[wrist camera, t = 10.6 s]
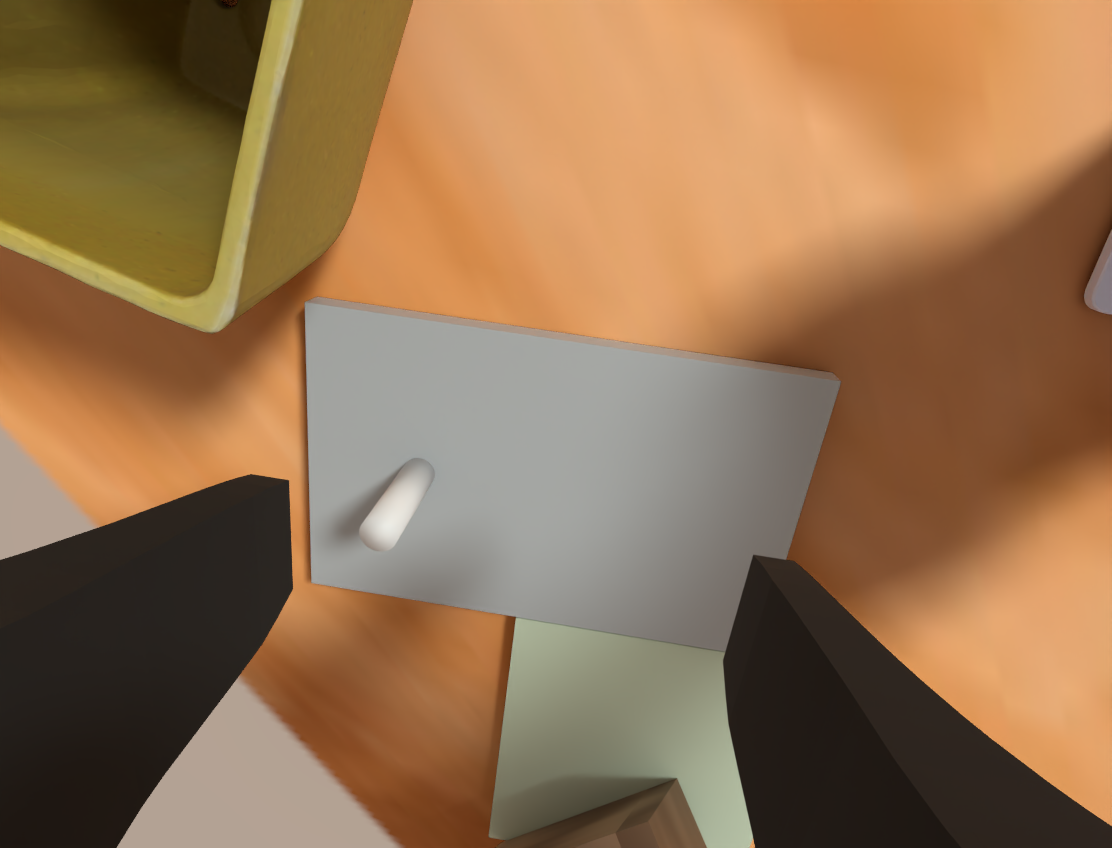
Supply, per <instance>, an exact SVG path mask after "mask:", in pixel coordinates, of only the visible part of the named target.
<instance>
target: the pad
mask: <svg viewBox="0 0 1112 848" xmlns="http://www.w3.org/2000/svg"><path fill="white" fill-rule="evenodd" d="M724 655H725V652H724V651H718V650H712V649H706V648H700V647H694V646H688V645H682V644H676V643H670V642H664V641H658V640H652V639H646V638H640V637H634V636H628V635H622V634H616V633H610V632H604V631H598V630H592V629H586V628H580V627H574V626H568V625H562V624H556V623H550V622H544V621H538V620H532V619H526V618H520V617H516V621H515V629H514V637H513V645H512V653H511V661H510V669H509V677H508V685H507V693H506V701H505V709H504V717H503V725H502V733H501V741H500V749H499V757H498V765H497V773H496V781H495V789H494V797H493V805H492V813H491V821H490V829H489V837H490V838H495V839H501V840H506V841H507V840H510V839H512V838H515V837H518V836H521V835H523V834H526V833H529V832H531V831H534V830H537V829H540V828H542V827H545V826H548V825H551V824H553V823H556V822H559V821H562V820H564V819H567V818H570V817H572V816H575V815H578V814H581V813H583V812H586V811H589V810H592V809H594V808H597V807H600V806H602V805H605V804H608V803H611V802H613V801H616V800H619V799H622V798H624V797H627V796H630V795H633V794H635V793H638V792H641V791H643V790H646V789H649V788H652V787H654V786H657V785H660V784H663V783H665V782H668V781H671V780H674V779H676V778H677V779H678V782H679V784H680V786H681V788H682V791H683V793H684V795H685V798H686V800H687V802H688V805H689V807H690V809H691V812H692V814H693V816H694V819H695V821H696V823H697V826H698V828H699V830H700V833H701V835H702V837H703V840H704V842H705V844H706V847H707V848H750V845H751V842H752V839H753V835H752V830H751V826H750V821H749V817H748V812H747V808H746V803H745V799H744V794H743V790H742V786H741V781H740V776H739V772H738V767H737V763H736V758H735V753H734V749H733V744H732V739H731V734H730V729H729V725H728V715H727V705H726V695H725V682H724V669H723V658H724Z"/></svg>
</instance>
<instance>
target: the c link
mask: <svg viewBox="0 0 1112 848" xmlns="http://www.w3.org/2000/svg"><path fill="white" fill-rule="evenodd" d="M496 848H707V847H706V844H705V842H704V840H703V837H702V835H701V833H700V830H699V828H698V826H697V823H696V821H695V819H694V816H693V814H692V812H691V809H690V807H689V805H688V802H687V800H686V798H685V795H684V793H683V791H682V788H681V786H680V784H679V782H678V779H677V778H676V779H674V780H671V781H668V782H665V783H663V784H660V785H657V786H654V787H652V788H649V789H646V790H643V791H641V792H638V793H635V794H633V795H630V796H627V797H624V798H622V799H619V800H616V801H613V802H611V803H608V804H605V805H602V806H600V807H597V808H594V809H592V810H589V811H586V812H583V813H581V814H578V815H575V816H572V817H570V818H567V819H564V820H562V821H559V822H556V823H553V824H551V825H548V826H545V827H542V828H540V829H537V830H534V831H531V832H529V833H526V834H523V835H521V836H518V837H515V838H512V839H510V840H507V841H504V842H501V843H500V844H499V845H498V846H497V847H496Z"/></svg>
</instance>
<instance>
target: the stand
mask: <svg viewBox="0 0 1112 848" xmlns="http://www.w3.org/2000/svg"><path fill="white" fill-rule="evenodd" d="M305 334H306V376H307V418H308V460H309V502H310V543H311V583H315V584H321V585H327V586H333V587H339V588H345V589H351V590H357V591H363V592H369V593H375V594H381V595H387V596H393V597H399V598H405V599H411V600H417V601H423V602H429V603H435V604H441V605H447V606H453V607H459V608H465V609H471V610H477V611H483V612H489V613H495V614H502V615H508V616H514V617H520V618H526V619H532V620H538V621H544V622H550V623H556V624H562V625H568V626H574V627H580V628H586V629H592V630H598V631H604V632H610V633H616V634H622V635H628V636H634V637H640V638H646V639H652V640H658V641H664V642H670V643H676V644H682V645H688V646H694V647H700V648H706V649H712V650H718V651H724V652H725V651H726V648H727V644H728V641H729V637H730V634H731V630H732V627H733V623H734V620H735V616H736V613H737V609H738V606H739V602H740V599H741V595H742V592H743V588H744V585H745V581H746V578H747V574H748V571H749V567H750V564H751V560H752V557H753V555H759V556H766V557H772V558H778V559H784V560H786V558H787V555H788V552H789V549H790V545H791V542H792V539H793V536H794V532H795V529H796V526H797V523H798V520H799V516H800V513H801V510H802V507H803V503H804V500H805V497H806V494H807V491H808V487H809V484H810V481H811V478H812V474H813V471H814V468H815V465H816V462H817V458H818V455H819V452H820V449H821V445H822V442H823V439H824V436H825V433H826V429H827V426H828V423H829V420H830V416H831V413H832V410H833V407H834V404H835V400H836V397H837V394H838V391H839V387H840V384H841V381H840V380H839V379H838V378H837V377H836V376H835V375H834V373H832V372H825V371H818V370H812V369H805V368H798V367H791V366H784V365H778V364H771V363H764V362H757V361H750V360H744V359H737V358H730V357H723V356H716V355H710V354H703V353H696V352H689V351H682V350H676V349H669V348H662V347H655V346H649V345H642V344H635V343H628V342H621V341H615V340H608V339H601V338H594V337H587V336H581V335H574V334H567V333H560V332H553V331H547V330H540V329H533V328H526V327H519V326H513V325H506V324H499V323H492V322H486V321H479V320H472V319H465V318H458V317H452V316H445V315H438V314H431V313H424V312H418V311H411V310H404V309H397V308H390V307H384V306H377V305H370V304H363V303H356V302H350V301H343V300H336V299H329V298H322V297H315V298H313V299H311V300H308V301H306V302H305Z"/></svg>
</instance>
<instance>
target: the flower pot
mask: <svg viewBox="0 0 1112 848" xmlns="http://www.w3.org/2000/svg"><path fill="white" fill-rule="evenodd" d="M412 3H413V0H238V2H237V4H236V5H235V6H233V7H227V6H225V5H224V4H223V2H222V1H221V0H0V245H1V246H3V247H5V248H7V249H9V250H12V251H14V252H17V253H19V254H21V255H24V256H26V257H28V258H31V259H33V260H35V261H38V262H40V263H42V264H45V265H47V266H49V267H52V268H54V269H56V270H58V271H60V272H62V273H65V274H67V275H69V276H71V277H73V278H75V279H77V280H79V281H81V282H83V283H85V284H87V285H89V286H92V287H94V288H96V289H99V290H101V291H104V292H106V293H108V294H111V295H113V296H116V297H118V298H120V299H123V300H125V301H127V302H130V303H132V304H134V305H136V306H138V307H140V308H142V309H144V310H147V311H150V312H152V313H154V314H157V315H159V316H161V317H164V318H166V319H168V320H171V321H174V322H177V323H179V324H182V325H185V326H188V327H191V328H193V329H196V330H199V331H202V332H206V333H210V334H213V333H216V332H219V331H220V330H222V329H224V328H225V327H226V326H228V325H229V324H230V323H231V322H233V321H234V320H235V319H237V318H238V317H239V316H241V315H242V314H244V313H245V312H246V311H248V310H249V309H250V308H252V307H253V306H254V305H256V304H257V303H259V302H260V301H261V300H263V299H264V298H265V297H267V296H268V295H270V294H271V293H272V292H274V291H275V290H277V289H278V288H279V287H281V286H282V285H284V284H285V283H286V282H288V281H289V280H290V279H292V278H293V277H294V276H296V275H297V274H298V273H299V272H301V271H302V270H303V269H305V268H306V267H307V266H309V265H310V264H311V263H312V262H314V261H315V260H316V259H318V258H319V257H320V256H321V255H322V254H323V253H324V252H326V250H327V249H328V248H329V247H330V246H331V245H332V244H333V243H334V242H335V240H336V239H337V238H338V236H339V235H340V233H341V231H342V230H343V228H344V226H345V224H346V222H347V220H348V218H349V216H350V213H351V211H352V208H353V205H354V202H355V200H356V196H357V193H358V190H359V186H360V182H361V179H362V175H363V172H364V168H365V164H366V161H367V157H368V153H369V150H370V146H371V142H372V139H373V135H374V132H375V128H376V125H377V122H378V118H379V115H380V111H381V108H382V104H383V101H384V98H385V94H386V91H387V87H388V84H389V81H390V77H391V74H392V70H393V67H394V64H395V60H396V57H397V54H398V50H399V47H400V43H401V40H402V37H403V33H404V30H405V27H406V23H407V20H408V16H409V13H410V10H411V6H412Z"/></svg>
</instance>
